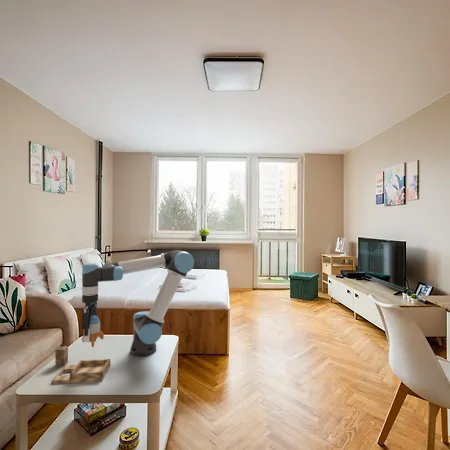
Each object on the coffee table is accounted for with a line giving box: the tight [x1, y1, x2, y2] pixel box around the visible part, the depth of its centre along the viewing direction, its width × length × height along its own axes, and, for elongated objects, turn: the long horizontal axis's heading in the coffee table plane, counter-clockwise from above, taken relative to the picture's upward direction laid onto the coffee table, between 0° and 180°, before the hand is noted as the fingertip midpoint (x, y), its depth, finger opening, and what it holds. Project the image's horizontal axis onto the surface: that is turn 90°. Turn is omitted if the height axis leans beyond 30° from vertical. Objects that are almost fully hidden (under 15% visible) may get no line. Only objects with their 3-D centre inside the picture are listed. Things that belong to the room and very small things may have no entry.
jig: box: [51, 358, 112, 385], centre depth 147 cm, size 23×15×4 cm, turn 97°
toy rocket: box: [81, 315, 105, 348], centre depth 149 cm, size 10×11×15 cm
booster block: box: [54, 345, 69, 368], centre depth 157 cm, size 4×4×9 cm
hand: (89, 338), depth 149 cm, fingers closed on toy rocket, 7 cm apart
